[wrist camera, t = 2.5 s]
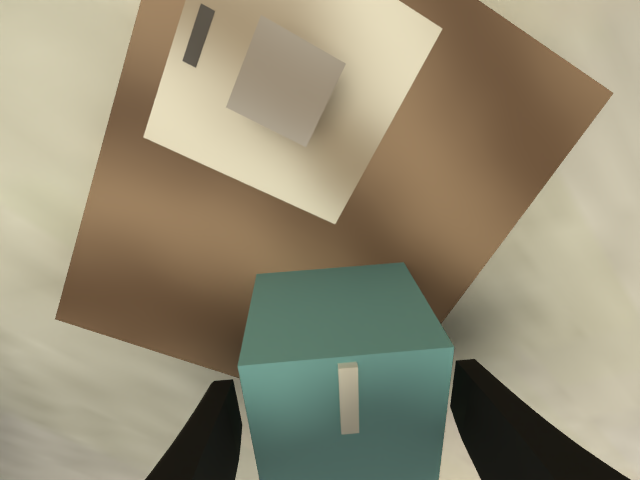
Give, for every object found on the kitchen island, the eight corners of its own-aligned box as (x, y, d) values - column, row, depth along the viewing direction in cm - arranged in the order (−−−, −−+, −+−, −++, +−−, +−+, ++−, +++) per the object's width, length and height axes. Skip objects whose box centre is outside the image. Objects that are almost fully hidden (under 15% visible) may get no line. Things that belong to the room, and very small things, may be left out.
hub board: (365, 402, 18) (385, 492, 14) (70, 304, 15) (-13, 385, 11) (590, 92, 13) (723, 97, 9) (203, -169, 9) (137, -349, 5)
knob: (399, 374, 16) (440, 491, 11) (272, 385, 16) (263, 508, 11) (404, 262, 14) (457, 352, 9) (256, 274, 14) (236, 372, 9)
